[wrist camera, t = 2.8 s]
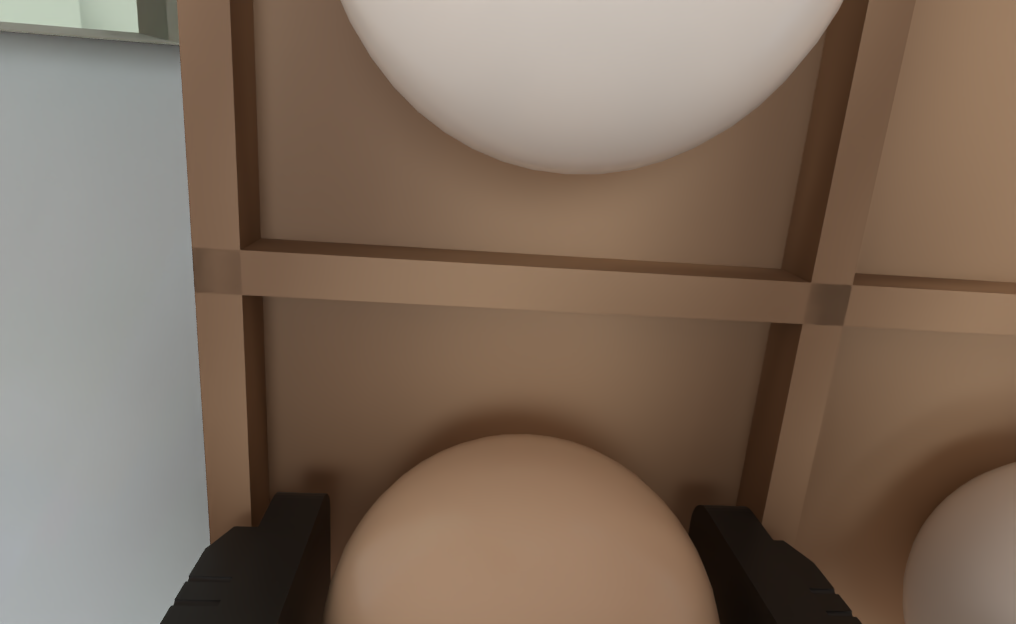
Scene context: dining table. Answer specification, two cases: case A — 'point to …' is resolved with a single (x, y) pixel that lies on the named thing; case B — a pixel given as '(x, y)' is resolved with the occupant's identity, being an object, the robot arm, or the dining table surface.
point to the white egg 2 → (966, 556)
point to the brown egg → (520, 544)
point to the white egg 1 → (587, 71)
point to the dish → (94, 19)
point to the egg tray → (615, 284)
